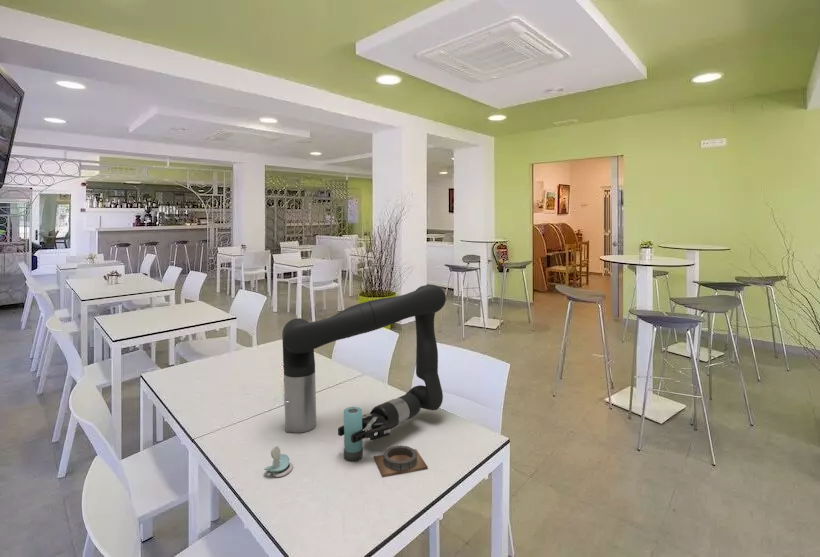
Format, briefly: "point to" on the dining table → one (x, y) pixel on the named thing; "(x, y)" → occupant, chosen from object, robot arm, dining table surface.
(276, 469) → the pacifier
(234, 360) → the dining table surface
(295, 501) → the dining table surface
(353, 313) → the robot arm
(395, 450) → the socket
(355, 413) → the teal cylinder
